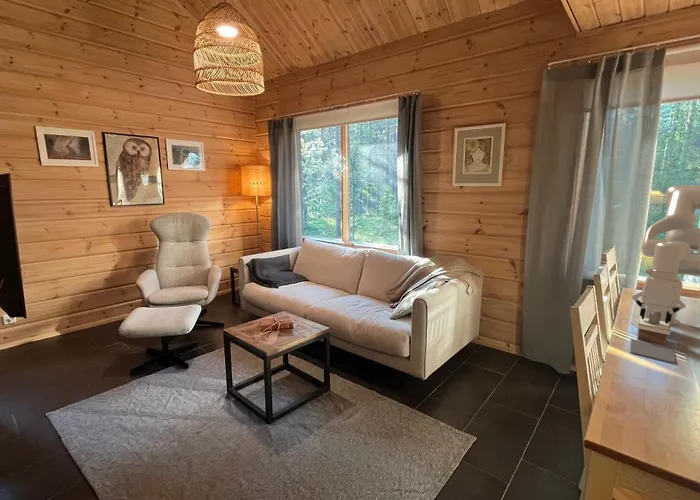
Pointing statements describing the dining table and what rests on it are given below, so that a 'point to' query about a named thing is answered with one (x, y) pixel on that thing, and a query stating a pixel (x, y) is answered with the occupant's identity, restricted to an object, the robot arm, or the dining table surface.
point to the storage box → (652, 336)
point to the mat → (652, 351)
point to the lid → (654, 323)
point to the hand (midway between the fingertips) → (654, 319)
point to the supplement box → (647, 311)
